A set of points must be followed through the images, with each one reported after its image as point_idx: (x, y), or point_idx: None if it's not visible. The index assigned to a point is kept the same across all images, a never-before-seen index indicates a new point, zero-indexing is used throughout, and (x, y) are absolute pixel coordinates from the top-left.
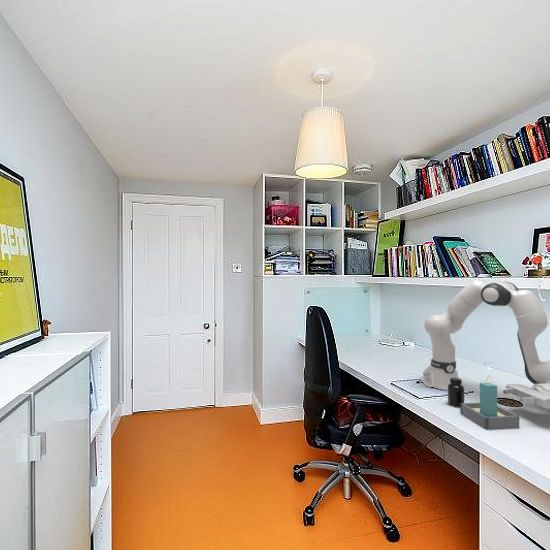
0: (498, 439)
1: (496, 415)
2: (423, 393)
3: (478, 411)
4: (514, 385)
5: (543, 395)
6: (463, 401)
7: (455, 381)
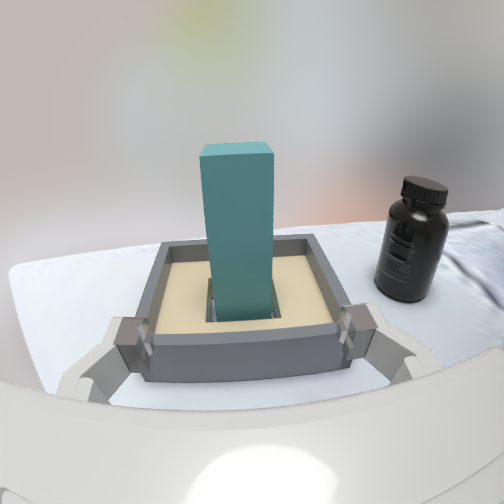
0: (110, 273)
1: (216, 309)
2: (460, 247)
3: (276, 279)
4: (499, 406)
5: (27, 498)
6: (392, 277)
7: (403, 181)
